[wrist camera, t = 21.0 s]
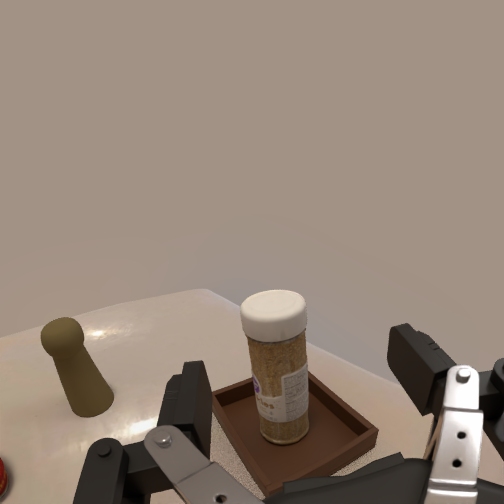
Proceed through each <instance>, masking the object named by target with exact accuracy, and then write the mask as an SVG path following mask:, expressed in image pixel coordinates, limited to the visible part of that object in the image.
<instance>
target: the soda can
mask: <svg viewBox="0 0 504 504" xmlns="http://www.w3.org/2000/svg"><path fill="white" fill-rule="evenodd" d="M8 483H9V477H8V474H7V472H6V471H5V468H4V464H3V462H2V460H1V458H0V498H1V497H2V496H3V495H4V494H5V492H6V490H7V488H8Z"/></svg>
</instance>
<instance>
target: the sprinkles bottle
mask: <svg viewBox="0 0 504 504" xmlns="http://www.w3.org/2000/svg"><path fill="white" fill-rule="evenodd" d="M240 313H241V321H242V327H243V331H244V333H245V335H246V337H247V339H248V346H249V353H250V359H251V366H252V377H253V383H254V389H255V396H256V403H257V409H258V411H259V418H260V432H261V434H262V436H263V437H264V438H265V439H266V440H268V441H269V442H271V443H274V444H280V445H287V444H292V443H295V442H297V441H299V440H300V439H302V438H303V437H304V436H305V435H306V434H307V432H308V430H309V420H308V364H307V355H306V339H305V330H306V328H305V327H306V325H307V310H306V302H305V300H304V298H303V297H302V296H301V295H300V294H298V293H296V292H293V291H289V290H269V291H264V292H260V293H257V294H254V295H252V296H250V297H248V298H247V299H246V300H245V301H244V302H243V303H242V305H241V307H240Z"/></svg>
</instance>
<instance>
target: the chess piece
mask: <svg viewBox="0 0 504 504" xmlns="http://www.w3.org/2000/svg"><path fill="white" fill-rule="evenodd" d="M41 342H42V345H43V348H44V349H45V351H46V352H47V353H48V354H49V355H50V356H52V357H53V360H54V363H55V366H56V369H57V372H58V375H59V377H60V380H61V383H62V386H63V388H64V391H65V394H66V396H67V399H68V401H69V404H70V406H71V409H72V411H73V412H74V413H75V414H76V415H78V416H81V417H93V416H96V415H99V414H101V413H103V412H104V411H106V410H107V409H108V408H109V407H110V406H111V405H112V402H113V400H114V394H113V392H112V390H111V389H110V387H109V386H108V384H107V383H106V381H105V380H104V378H103V377H102V375H101V373H100V372H99V370H98V369H97V367H96V365H95V364H94V362H93V360H92V359H91V357H90V355H89V354H88V352H87V350H86V348H85V347H84V345H83V343H84V333H83V330H82V328H81V326H80V324H79V323H78V322H77V321H76V320H74V319H73V318H68V317H64V318H59V319H56V320H53V321H51V322H49V323H48V324H47V325H46V326H45V327H44V328H43V329H42V331H41Z"/></svg>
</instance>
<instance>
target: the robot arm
mask: <svg viewBox="0 0 504 504" xmlns="http://www.w3.org/2000/svg"><path fill="white" fill-rule="evenodd" d="M387 361H388V365H389V367H390V369H391V371H392V372H393V374H394V375H395V376H396V378H397V379H398V381H399V382H400V384H401V385H402V387H403V388H404V390H405V391H406V393H407V394H408V396H409V397H410V398H411V400H412V401H413V403H414V404H415V406H416V407H417V409H418V410H419V412H420V413H421V415H422V416H425V415H427V414H430V413H433V415H434V417H433V420H432V424H431V429H430V433H429V437H428V441H427V445H426V449H425V453H424V456H423V459H420V458H406V459H404V458H403V456H402V454H401V452H399V453H396V454H393V455H390V456H387V457H384V458H381V459H378V460H375V461H373V462H371V463H369V464H367V465H366V466H364V467H362V468H360V469H358V470H356V471H354V472H352V473H350V474H348V475H345V476H325V477H309V478H304V479H299V480H293V481H287V482H282V484H283V490H281V491H278V492H276V493H274V494H272V495H270V496H268V497H267V498H265V499H263V500H262V501H261V500H260V499H258V498H257V497H256V496H255V495H254V494H252V493H251V492H250V491H249V490H248V489H246V488H245V487H244V486H243V485H242V484H241V483H239V482H238V481H237V480H236V479H235V478H234V477H233V476H231V475H230V474H229V473H228V472H227V471H226V470H225V469H224V468H223V467H222V466H220V465H219V464H218V463H217V462H215V461H214V462H210V442H211V421H212V403H213V399H212V391H211V387H210V383H209V380H208V376H207V373H206V369H205V365H204V362H203V361H202V360H201V361H191V362H184V366H183V371H182V374H178V375H173V376H172V378H171V379H170V380H169V381H168V382H167V385H166V389H165V394H164V397H163V401H162V406H161V410H160V414H159V418H158V422H157V427H156V428H154V429H152V430H151V431H149V432H148V433H147V435H146V436H145V439H144V440H143V441H141V442H137V443H133V444H128V445H124V446H122V445H121V443H120V442H119V441H117V440H116V439H113V438H103V439H100V440H97V441H96V442H94V443H93V444H92V445H91V446H90V448H89V450H88V452H87V456H86V459H85V462H84V465H83V469H82V472H81V475H80V479H79V482H78V486H77V489H76V493H75V497H74V500H73V504H150V498H151V494H152V493H156V492H161V491H165V490H169V489H173V490H174V491H175V492H176V493H177V494H178V496H179V497H180V498H181V499H182V500H183V502H184V503H185V504H504V486H502V485H498V484H495V483H492V482H489V481H486V480H482V479H479V478H477V475H478V468H479V461H480V452H481V442H482V429H483V430H484V432H485V433H486V435H487V436H488V438H489V439H490V441H491V442H492V444H493V445H494V447H495V448H496V450H497V451H498V453H499V455H500V456H501V458H502V459H503V461H504V358H501V359H499V360H497V361H496V362H495V364H494V367H493V370H491V371H485V372H477V371H476V369H474V368H473V367H471V366H468V365H457V364H456V363H455V362H454V361H453V360H452V359H451V358H450V357H449V356H448V355H447V354H446V353H445V352H444V351H443V350H442V349H440V347H439V346H438V345H437V344H436V343H435V341H433V339H432V338H430V336H429V335H427V334H424V333H422V332H420V331H417V332H416V331H415V330H414V329H413V328H412V327H411V326H410V325H409V324H408V323H405V324H401V325H398V326H394V327H391V329H390V333H389V345H388V352H387Z"/></svg>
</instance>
